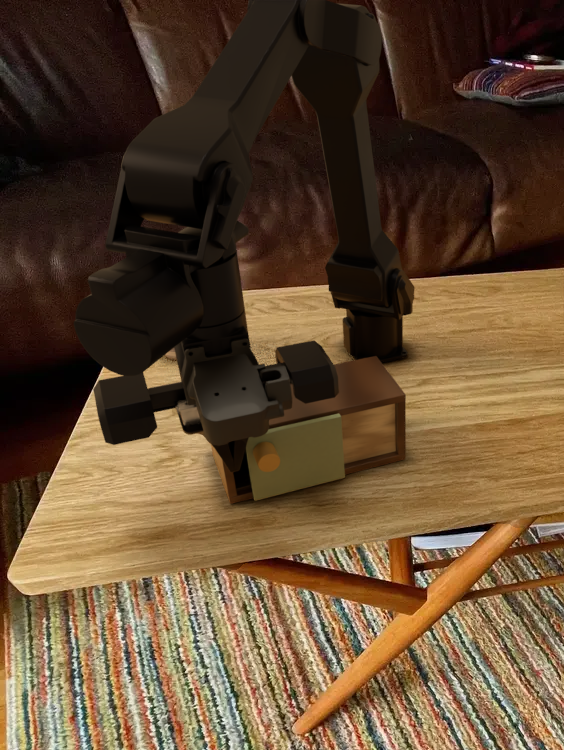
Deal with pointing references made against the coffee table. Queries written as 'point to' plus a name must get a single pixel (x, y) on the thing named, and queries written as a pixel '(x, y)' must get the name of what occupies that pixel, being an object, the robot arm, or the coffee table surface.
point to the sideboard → (345, 422)
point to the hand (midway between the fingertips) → (233, 469)
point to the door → (296, 456)
